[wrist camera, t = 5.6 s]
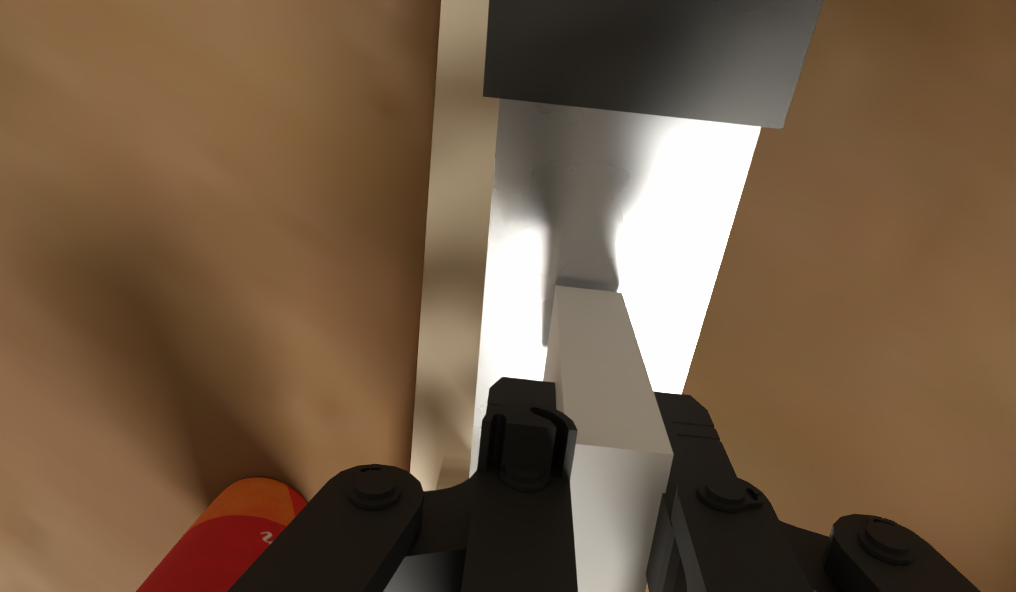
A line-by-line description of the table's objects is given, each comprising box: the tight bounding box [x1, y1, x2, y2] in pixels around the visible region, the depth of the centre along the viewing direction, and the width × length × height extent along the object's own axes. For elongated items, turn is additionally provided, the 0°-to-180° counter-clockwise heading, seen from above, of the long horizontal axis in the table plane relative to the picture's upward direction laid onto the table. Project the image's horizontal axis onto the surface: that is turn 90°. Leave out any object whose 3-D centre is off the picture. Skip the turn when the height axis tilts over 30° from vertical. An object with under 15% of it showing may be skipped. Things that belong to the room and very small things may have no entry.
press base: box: [410, 0, 500, 491], centre depth 28 cm, size 32×12×14 cm, turn 174°
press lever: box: [469, 0, 823, 478], centre depth 20 cm, size 27×6×3 cm, turn 175°
